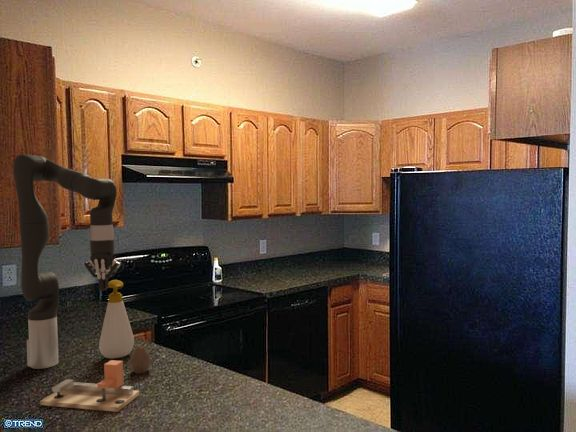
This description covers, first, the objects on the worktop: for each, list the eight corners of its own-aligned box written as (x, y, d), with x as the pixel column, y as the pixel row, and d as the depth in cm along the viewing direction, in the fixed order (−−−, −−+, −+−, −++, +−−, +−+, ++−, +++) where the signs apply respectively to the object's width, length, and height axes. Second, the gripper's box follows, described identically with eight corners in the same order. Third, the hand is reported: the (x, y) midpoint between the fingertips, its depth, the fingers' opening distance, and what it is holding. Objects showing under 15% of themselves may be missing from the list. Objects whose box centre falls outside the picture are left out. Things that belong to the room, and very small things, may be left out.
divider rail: (48, 397, 145) (48, 387, 145) (65, 387, 152) (65, 377, 152) (119, 403, 140) (118, 392, 140) (133, 393, 147) (132, 382, 147)
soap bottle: (103, 364, 176) (100, 284, 175) (96, 356, 185) (94, 280, 183) (139, 357, 183) (137, 280, 182) (131, 350, 192) (129, 276, 190)
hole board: (40, 404, 143) (40, 400, 143) (67, 388, 154) (66, 384, 154) (117, 411, 137) (117, 407, 137) (139, 394, 149) (139, 390, 149)
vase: (129, 376, 164) (129, 350, 164) (130, 369, 171) (130, 344, 171) (151, 373, 166) (150, 348, 166) (151, 367, 173) (150, 342, 172)
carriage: (95, 400, 141) (94, 370, 141) (111, 388, 150) (110, 360, 149) (108, 401, 141) (107, 370, 140) (123, 389, 149) (122, 360, 148)
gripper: (77, 239, 161) (79, 291, 162) (113, 239, 159) (115, 292, 159) (91, 237, 169) (92, 287, 170) (125, 237, 166) (127, 288, 167)
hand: (103, 289), depth 165 cm, fingers closed
